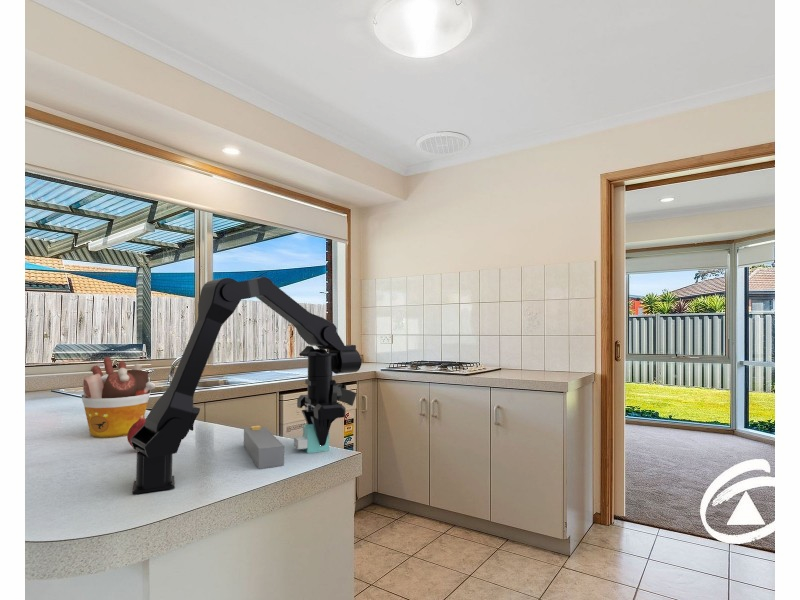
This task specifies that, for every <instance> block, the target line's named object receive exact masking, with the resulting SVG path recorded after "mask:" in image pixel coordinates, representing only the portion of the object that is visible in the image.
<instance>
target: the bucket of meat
mask: <svg viewBox="0 0 800 600" xmlns="http://www.w3.org/2000/svg"><path fill="white" fill-rule="evenodd" d="M103 364H104V365H103V366H104V369H105V374H104V373H103V372H102V369H101V367H100V366H99V365H93V366H92V368H91V372H92V374H91V375H89V376H86V377H84V378H83V380H82V390H83V391H82V392H83V394H82V395H81V399H82V400H81V401H82V403H83V407H84V412H85V416H86V420H87V426H88V430H89V433H90V435H92V436H93V437H94V438H98V439H99V438H101V439H105V438H106V439H108V438H118V437H119V438H120V437H125V436H126V437H127V435H128V431H129V429H130V428H131V426H132V425H133V424H134V423H136V422H137V421H138V420H139V419H140V416H142V415H143V416H145V415H146V410H147V407H148V403H149V399H150V397H151V390H155V388H156V387H157V386H156V384H155V383H153V382H151V381H149V374H148V371H145V370H141V369H142V367H143V365H142V364H140V363H135V364H134V365H133V366H132V368H131V369H128V370H127V364H126V362H125V361H124V360H122V361H120V362H118V364H117V365H118V366H117V367H118V369H117V371H114V367H113V363H112V358H110V357H109V356H105V357H104V359H103Z"/></svg>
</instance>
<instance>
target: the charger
mask: <svg viewBox="0 0 800 600" xmlns="http://www.w3.org/2000/svg"><path fill="white" fill-rule="evenodd" d="M293 446H294V447H295V448H296V449H297V450H303V451H305V453H306V454H311V453H317V452H318V453H319V452H326V451H329V450H330V432H329V433H328V436H327V440H326V443H325V445H324V446H320V444H319V441H318V438H317V435H316V432H315V429H314V426H313V424H307V423H306V424H303V425H302V435H300V436H299V435H298V436H293Z"/></svg>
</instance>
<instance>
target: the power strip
mask: <svg viewBox="0 0 800 600" xmlns="http://www.w3.org/2000/svg"><path fill="white" fill-rule="evenodd" d="M243 448H244V449H245V450H246V451H247V454H248V455H249V456H250V459H252V461H253V463H254V464H255V466H256V467H257V470H258V469H259V470H263V469H268V468H269V469H270V468H274V467H275V468H276V467H282V466H283V467H284V466H285V445H284V444H283V443H282V442H281V441H280V440H279V439H278V438H277V437H276V436H275V435H274V434H273V433H272V432H271V431H270V429H268V427H266V426H263V427H262V426H261V425H252V426H250V428H249V427H248V428H243Z"/></svg>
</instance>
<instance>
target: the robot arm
mask: <svg viewBox="0 0 800 600" xmlns="http://www.w3.org/2000/svg"><path fill="white" fill-rule="evenodd" d="M252 298H256V299H257V300H259V301H260V302H262V303H263V304H265V306H267V307H269V308H270V309H271V310H272V311H274V312H275V313H276V314H277V315H279V316H281V317H282V318H283V319H284V320H286V321H287V322H288V323H289V324H291V325H292V326H293V327H294V328H295V329H296V332H297V334H298V335H299V336H300V338H302V340H303V341H304V342H305V343H306V344H307V345H306V346H305V348H304V349H303V350H302V351H300V353H299V354H298V355H299V357H307V379H305V381H304V382H305V383H304V384H306V385H307V394H300V396H299V397H298V398H297V399H296V406H297V408H299V409H302V410H301V413H302V415H303V418H304V420H305V421H306V425H307V424H313V426H314V429H315V432H316V435H317V438H318V441H319V444H320V445H321V446H324V445H325V443H326V440H327V436H328V433H329V434H330V429H331V426H332V423H333V422H335V420H337V419H341V418H345V417H346V413H347V411H346V407H345V406H344V405H343V404H341V402H342V403H344V404H347V405H348V406H354V403H355V400H356V398H357V397H356V396H357V395H358V394H357V393H358V392H355V391H352V390H349V389H347V385H346V384H343V383H340V382H337V381H336V379H333V376H334V375H333V374H336V375H339V374H350V373H357V372H358V371H360V369H361V367H362V358H361V354H360V352H359V351H358V350H357V345H356V344H346V345H345V343H344V341H343V340H342V338H341V337H340V335H339V333H338V332H337V329H338V328H337V326H336V325H335V324H334V323H333V322H331V321H330V320H328V319H326V318H324V317H323V316H319V315H316V314H314V313H311V312H310V311H308V310H307V309H306V308H305V307H303V306H302V305H301V304H300V303H298V301H296V300H294V298H292V297H291V296H290V295H288V294H287V293H286V292H285V291H284V290H282V289H281V288H280V287H278V286H277V285H276V284H275V283H274V282H273V281H272V279H270V278H269V277H267V276H261V277H260V276H259V277H254V278H251V279H247V280H242V281H237V280H235V279H234V278H231V277H224V278H218V279H212V280H209V281H207V282H205V283H204V284H203V286H202V287H201V290H200V295H199V299H198V303H197V310H198V312H197V316H198V317H197V321H196V323H195V325H194V327H193V330H192V332H191V335H190V337H189V340H188V342H187V343H186V347H185V348H184V351H183V354H182V356H181V359H180V361H179V362H178V365H177V367H176V370H175V372H174V375H173V377H172V379H171V382H170V384H169V386H168V388H167V390H166V391H165V392H164V393H163V394H162V395H161V396H160V398H158V400H157V401H156V402H155V404H154V405H153V407H152V408H151V409H150V411H149V413H148V415H147V416H146V417H145V419H146V421H145V424H144V425H143V426H142V427H141V428H140V429H139V430H138V431H137V433H136V434H135V435H134V436H133V437H132V438H131V439H130V440H131V443H132V445H133V447H132V448H133V449H134V450H136V451H137V452H136V464H135V465H136V466H135V468H136V469H135V471H136V473H135V476H136V477H135V480H134V481H133V486H132V494H133V495H136V494H137V495H138V494H143V493H149V492H157V491H163V490H165V491H166V490H172V489H175V486H176V485H175V483H176V482H175V475H173V454H175V455H176V454H177V453H178V451H179V448H180V445H181V442H182V441H183V440H184V439H185V438H186V437H187V436H188V434H189V432H190V431H194V425H195V420H196V419H197V417H198V415H199V413H200V410H201V408H200V407H197V406H195V405H194V398H195V397H194V396H195V392H196V390H197V388H198V385H199V383H200V380H201V378H202V375H203V373H204V370H205V367H206V365H207V363H208V361H209V358H210V355H211V353H212V350H213V348H214V345H215V343H216V340H217V338H218V336H219V334H220V331H221V328H222V326H223V325H224V323H225V322H226V321H227V320H228V319H229V318H230V317H231V316H232V314H233V313H234V312H235V310H236V309H237V307H238V305H239V304H240V302H241V301H242V300H246V299H252ZM313 346H314V347H317V348H314V347H313ZM327 350H328V351H327ZM338 401H339V402H340V403H339V402H338ZM303 407H304V409H303Z"/></svg>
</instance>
